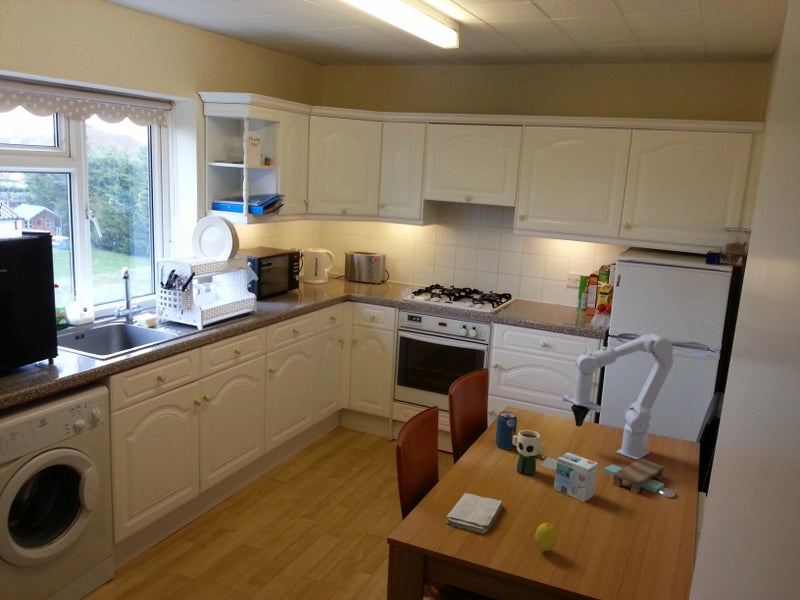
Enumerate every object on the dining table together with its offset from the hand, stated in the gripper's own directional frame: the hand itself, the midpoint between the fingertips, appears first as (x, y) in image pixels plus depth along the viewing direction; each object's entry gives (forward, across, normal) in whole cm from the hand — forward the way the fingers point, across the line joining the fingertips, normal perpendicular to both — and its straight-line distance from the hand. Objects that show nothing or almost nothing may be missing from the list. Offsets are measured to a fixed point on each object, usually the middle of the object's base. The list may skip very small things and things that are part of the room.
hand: (578, 425), depth 233 cm
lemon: (+10, +30, -64) cm, 71 cm away
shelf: (+9, +26, -5) cm, 28 cm away
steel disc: (+10, +36, -6) cm, 38 cm away
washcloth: (+10, +7, -64) cm, 65 cm away
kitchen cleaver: (+10, +1, -17) cm, 20 cm away
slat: (+10, +24, -5) cm, 27 cm away
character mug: (+10, -1, -29) cm, 31 cm away
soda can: (+10, -18, -18) cm, 27 cm away
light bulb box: (+10, +17, -29) cm, 35 cm away
